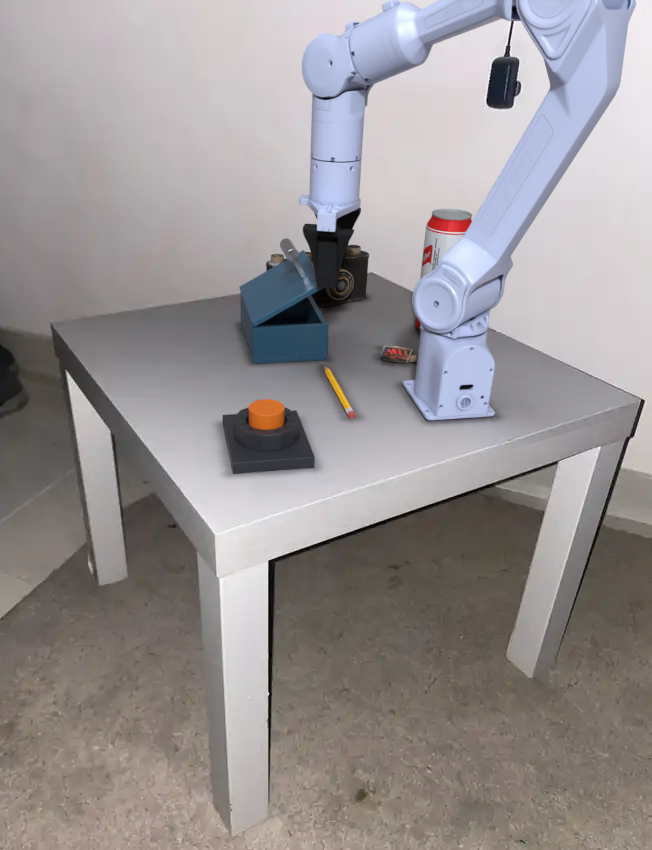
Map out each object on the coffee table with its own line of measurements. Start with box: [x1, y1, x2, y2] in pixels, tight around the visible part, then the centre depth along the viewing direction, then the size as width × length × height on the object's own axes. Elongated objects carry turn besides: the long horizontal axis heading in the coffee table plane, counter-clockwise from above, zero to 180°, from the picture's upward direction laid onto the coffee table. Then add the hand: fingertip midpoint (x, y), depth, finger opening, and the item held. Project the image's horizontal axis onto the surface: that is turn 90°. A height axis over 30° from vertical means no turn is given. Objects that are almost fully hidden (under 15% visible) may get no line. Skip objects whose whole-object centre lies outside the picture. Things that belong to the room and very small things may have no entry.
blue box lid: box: [239, 237, 323, 327], centre depth 98 cm, size 10×13×5 cm
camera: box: [265, 244, 370, 308], centre depth 113 cm, size 16×7×8 cm, turn 117°
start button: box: [248, 398, 286, 430], centre depth 77 cm, size 4×4×2 cm
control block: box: [222, 406, 316, 475], centre depth 78 cm, size 10×8×3 cm
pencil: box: [324, 365, 357, 419], centre depth 90 cm, size 1×13×1 cm, turn 11°
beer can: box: [415, 208, 473, 333], centre depth 103 cm, size 6×6×16 cm
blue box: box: [239, 291, 329, 364], centre depth 101 cm, size 9×13×5 cm
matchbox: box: [379, 345, 418, 364], centre depth 99 cm, size 5×5×1 cm
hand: (330, 277), depth 93 cm, fingers open, 7 cm apart
